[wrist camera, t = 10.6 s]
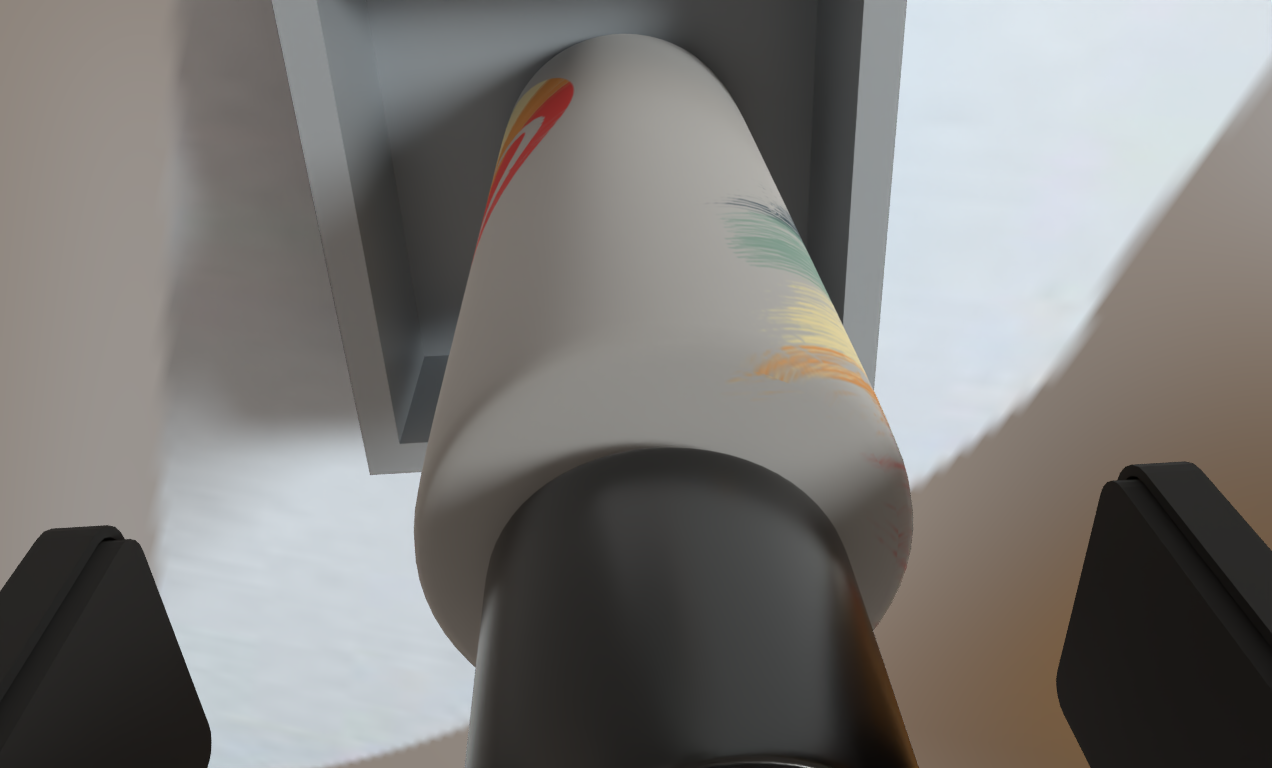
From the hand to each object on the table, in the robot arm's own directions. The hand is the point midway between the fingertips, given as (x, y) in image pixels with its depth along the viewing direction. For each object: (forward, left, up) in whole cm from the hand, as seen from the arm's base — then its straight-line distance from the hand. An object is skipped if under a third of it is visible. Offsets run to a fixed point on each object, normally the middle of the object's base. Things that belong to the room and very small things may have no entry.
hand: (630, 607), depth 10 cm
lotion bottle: (0, 0, -16) cm, 16 cm away
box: (+1, 0, -17) cm, 17 cm away
